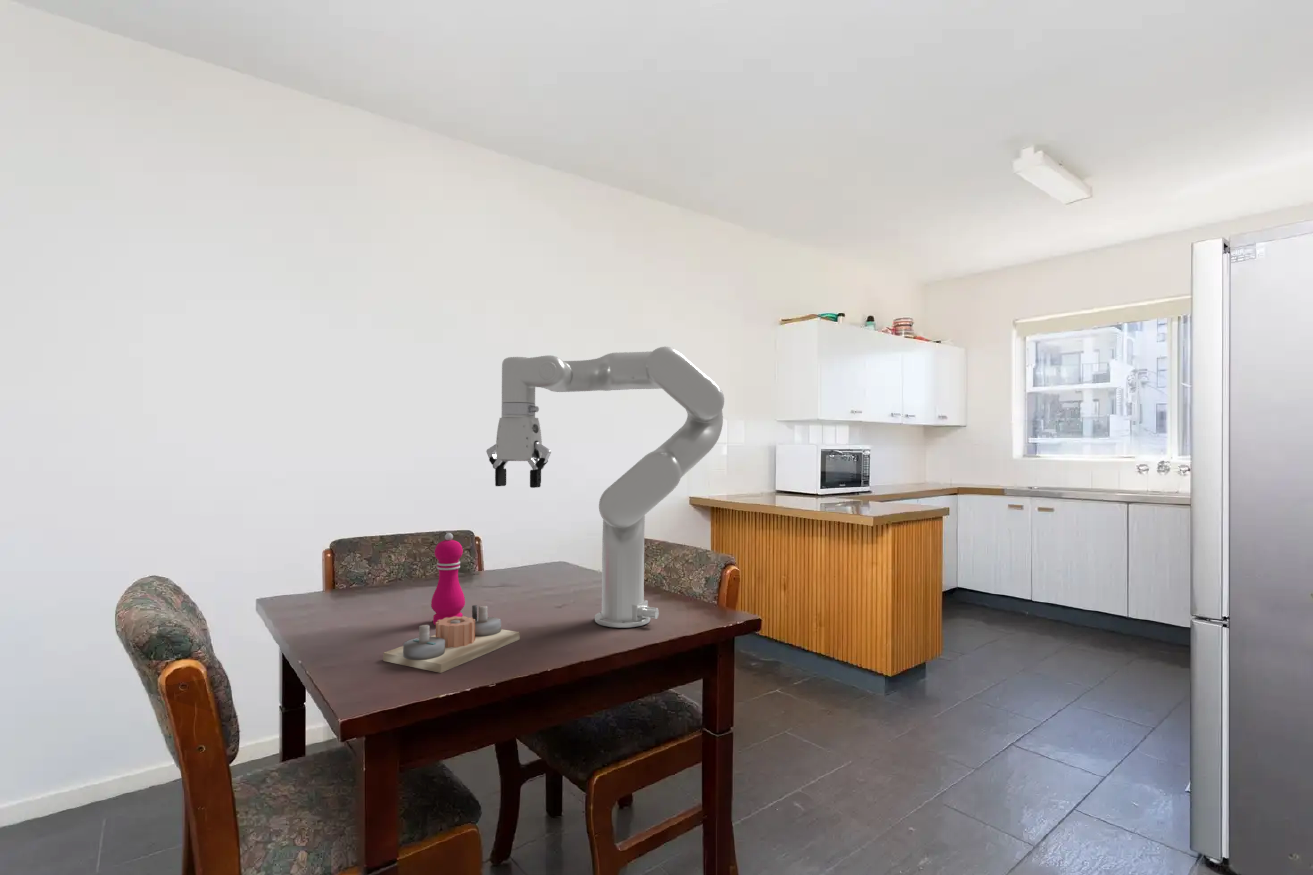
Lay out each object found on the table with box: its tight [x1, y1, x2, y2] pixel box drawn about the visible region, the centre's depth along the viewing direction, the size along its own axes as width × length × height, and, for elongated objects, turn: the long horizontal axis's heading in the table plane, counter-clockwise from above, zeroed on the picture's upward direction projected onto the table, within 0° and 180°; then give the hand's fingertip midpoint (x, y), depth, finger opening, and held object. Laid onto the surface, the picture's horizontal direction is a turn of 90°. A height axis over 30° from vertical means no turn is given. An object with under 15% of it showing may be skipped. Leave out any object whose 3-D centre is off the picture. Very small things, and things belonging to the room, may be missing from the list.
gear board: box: [382, 604, 521, 674], centre depth 127 cm, size 14×23×6 cm, turn 154°
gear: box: [435, 615, 475, 648], centre depth 127 cm, size 7×7×4 cm
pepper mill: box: [430, 532, 466, 626], centre depth 146 cm, size 7×7×20 cm
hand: (517, 486), depth 149 cm, fingers open, 9 cm apart
